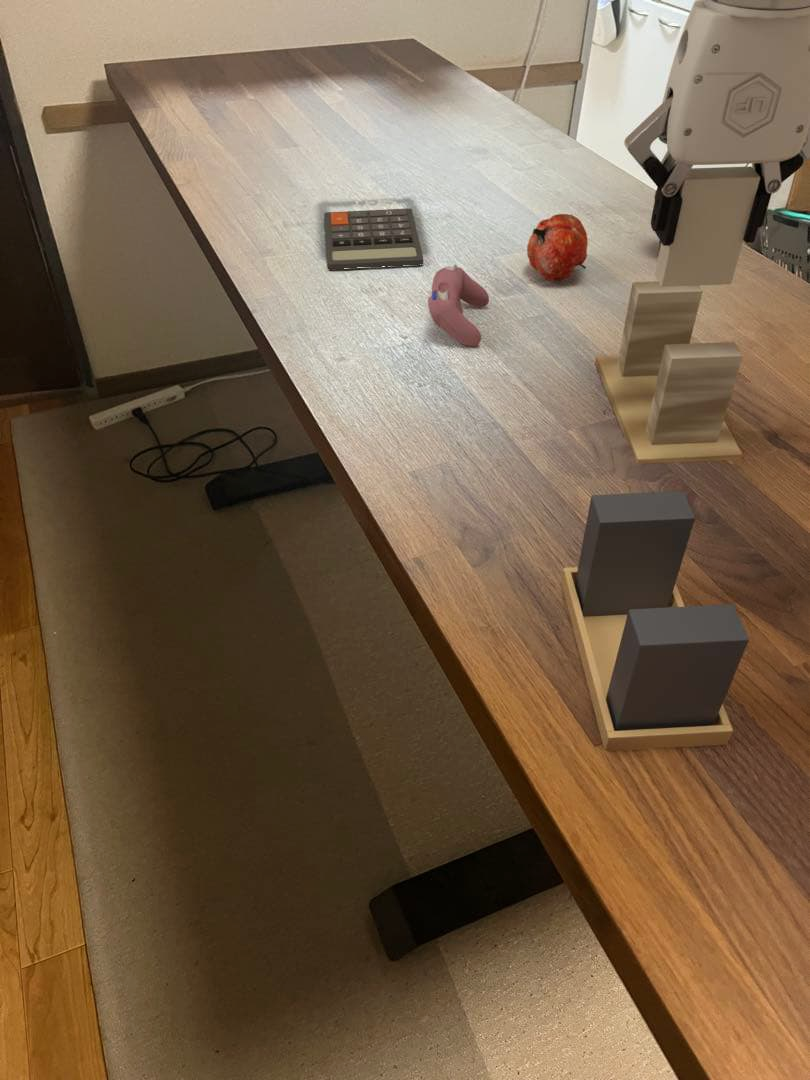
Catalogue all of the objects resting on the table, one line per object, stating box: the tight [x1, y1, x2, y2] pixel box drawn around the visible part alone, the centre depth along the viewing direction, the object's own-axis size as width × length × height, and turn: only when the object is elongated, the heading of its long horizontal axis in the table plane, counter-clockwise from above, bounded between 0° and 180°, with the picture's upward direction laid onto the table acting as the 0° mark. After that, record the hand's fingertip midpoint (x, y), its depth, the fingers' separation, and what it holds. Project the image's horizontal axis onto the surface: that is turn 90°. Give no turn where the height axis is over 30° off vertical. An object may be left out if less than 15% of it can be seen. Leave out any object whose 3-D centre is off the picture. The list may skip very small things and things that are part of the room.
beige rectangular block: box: [654, 165, 760, 287], centre depth 70 cm, size 2×6×9 cm, turn 93°
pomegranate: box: [526, 213, 589, 283], centre depth 101 cm, size 7×7×10 cm
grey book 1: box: [575, 490, 696, 617], centre depth 61 cm, size 3×6×10 cm, turn 93°
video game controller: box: [427, 264, 490, 347], centre depth 93 cm, size 10×5×7 cm, turn 170°
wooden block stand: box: [594, 280, 744, 465], centre depth 79 cm, size 17×9×10 cm, turn 3°
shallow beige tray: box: [560, 566, 734, 752], centre depth 60 cm, size 15×8×2 cm, turn 3°
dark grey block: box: [606, 603, 750, 731], centre depth 54 cm, size 3×6×10 cm, turn 93°
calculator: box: [323, 208, 424, 271], centre depth 109 cm, size 12×1×15 cm
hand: (703, 234), depth 71 cm, fingers closed on beige rectangular block, 6 cm apart
